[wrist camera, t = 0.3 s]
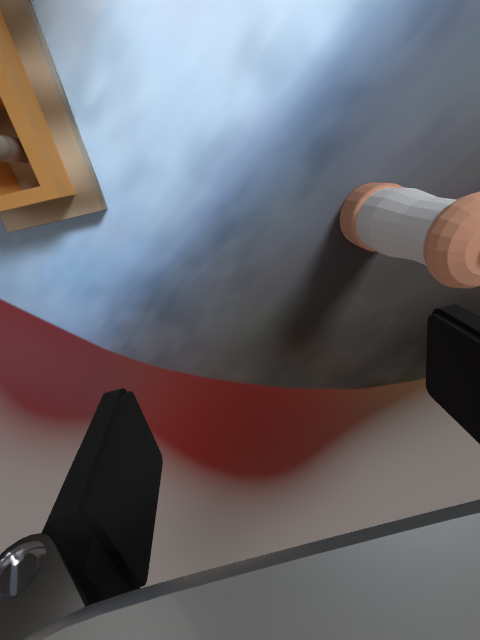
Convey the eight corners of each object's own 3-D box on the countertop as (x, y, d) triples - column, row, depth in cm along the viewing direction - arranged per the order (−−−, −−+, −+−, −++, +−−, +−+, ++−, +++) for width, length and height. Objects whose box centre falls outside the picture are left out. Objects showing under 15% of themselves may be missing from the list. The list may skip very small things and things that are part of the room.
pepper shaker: (339, 186, 37) (462, 198, 20) (401, 178, 37) (574, 184, 20) (338, 249, 40) (443, 308, 23) (395, 241, 40) (541, 294, 23)
